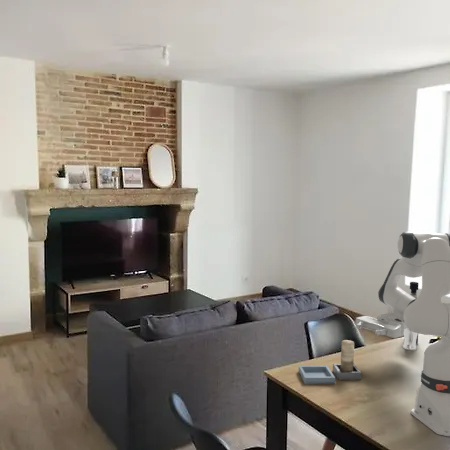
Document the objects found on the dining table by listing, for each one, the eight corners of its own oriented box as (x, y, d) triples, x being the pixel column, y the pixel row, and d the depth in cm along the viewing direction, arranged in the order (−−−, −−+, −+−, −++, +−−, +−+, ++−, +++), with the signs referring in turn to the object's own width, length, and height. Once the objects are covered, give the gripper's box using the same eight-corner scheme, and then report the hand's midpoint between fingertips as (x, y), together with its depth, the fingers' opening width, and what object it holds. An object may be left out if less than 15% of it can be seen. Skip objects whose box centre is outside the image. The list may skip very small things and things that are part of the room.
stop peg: (354, 377, 202) (356, 344, 200) (342, 377, 201) (343, 344, 200) (350, 372, 207) (352, 340, 205) (338, 372, 206) (340, 340, 205)
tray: (335, 383, 196) (335, 377, 195) (304, 383, 195) (305, 377, 195) (327, 371, 208) (327, 365, 207) (298, 371, 207) (298, 365, 207)
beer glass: (415, 346, 240) (417, 315, 239) (419, 351, 233) (421, 320, 232) (400, 345, 241) (402, 315, 239) (404, 350, 234) (405, 319, 232)
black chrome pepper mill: (401, 340, 247) (404, 281, 244) (411, 339, 249) (415, 280, 246) (409, 345, 241) (413, 284, 238) (420, 344, 243) (424, 283, 240)
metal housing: (360, 379, 200) (361, 372, 200) (338, 379, 199) (339, 372, 199) (353, 370, 209) (354, 363, 209) (332, 371, 208) (332, 364, 208)
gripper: (367, 311, 226) (347, 316, 218) (407, 322, 210) (387, 329, 202) (366, 324, 227) (346, 330, 219) (406, 337, 211) (386, 344, 202)
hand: (366, 329), depth 210 cm, fingers open, 8 cm apart
